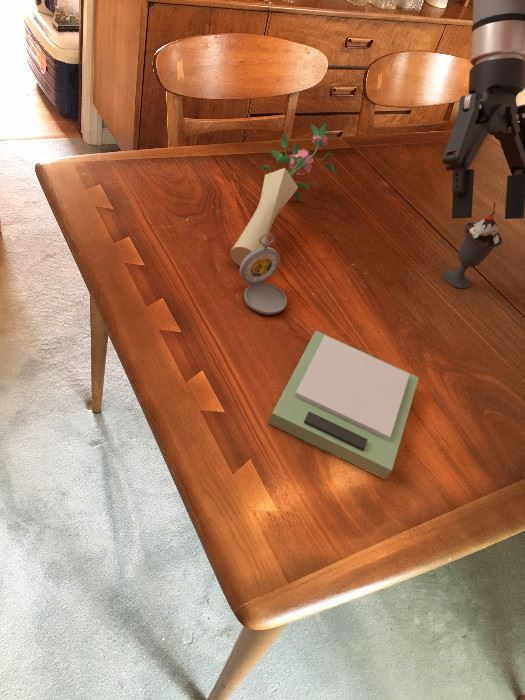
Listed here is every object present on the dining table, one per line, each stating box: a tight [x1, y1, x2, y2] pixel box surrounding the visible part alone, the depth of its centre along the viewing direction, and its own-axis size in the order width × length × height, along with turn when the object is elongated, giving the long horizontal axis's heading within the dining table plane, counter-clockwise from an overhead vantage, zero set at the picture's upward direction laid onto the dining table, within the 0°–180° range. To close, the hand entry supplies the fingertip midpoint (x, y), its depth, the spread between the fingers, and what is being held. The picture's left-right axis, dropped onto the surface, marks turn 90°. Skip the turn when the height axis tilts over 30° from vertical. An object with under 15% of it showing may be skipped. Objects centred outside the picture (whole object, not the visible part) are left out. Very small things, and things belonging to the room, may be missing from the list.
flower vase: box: [229, 122, 337, 267], centre depth 99 cm, size 12×12×35 cm
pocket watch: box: [239, 233, 288, 316], centre depth 83 cm, size 8×8×10 cm
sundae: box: [443, 202, 503, 289], centre depth 95 cm, size 7×7×15 cm
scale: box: [267, 330, 420, 480], centre depth 74 cm, size 16×17×3 cm
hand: (489, 218), depth 82 cm, fingers open, 13 cm apart
